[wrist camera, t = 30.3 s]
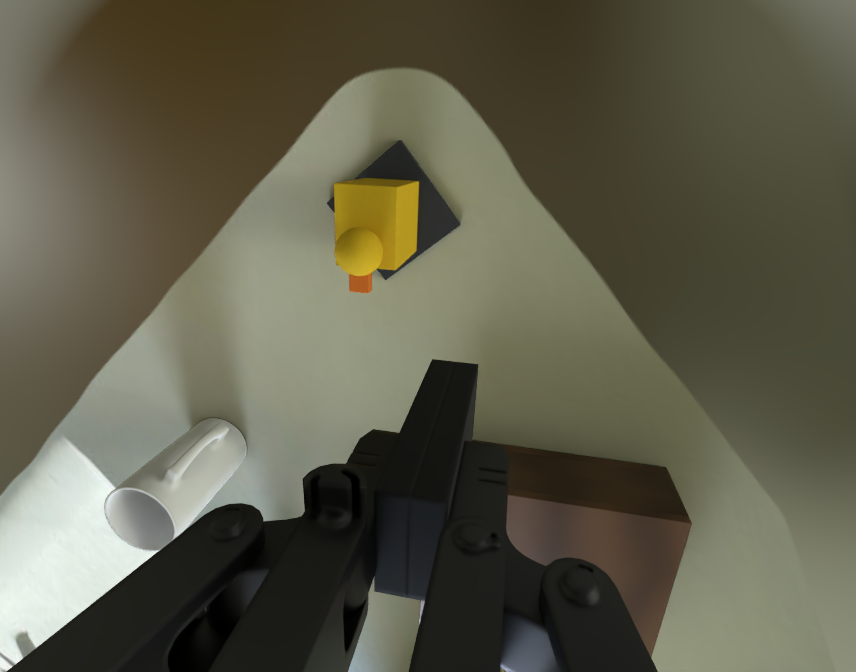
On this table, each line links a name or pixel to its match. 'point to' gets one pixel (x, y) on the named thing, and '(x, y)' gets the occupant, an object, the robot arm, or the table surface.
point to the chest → (593, 479)
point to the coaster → (431, 206)
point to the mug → (175, 485)
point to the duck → (374, 227)
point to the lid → (605, 547)
